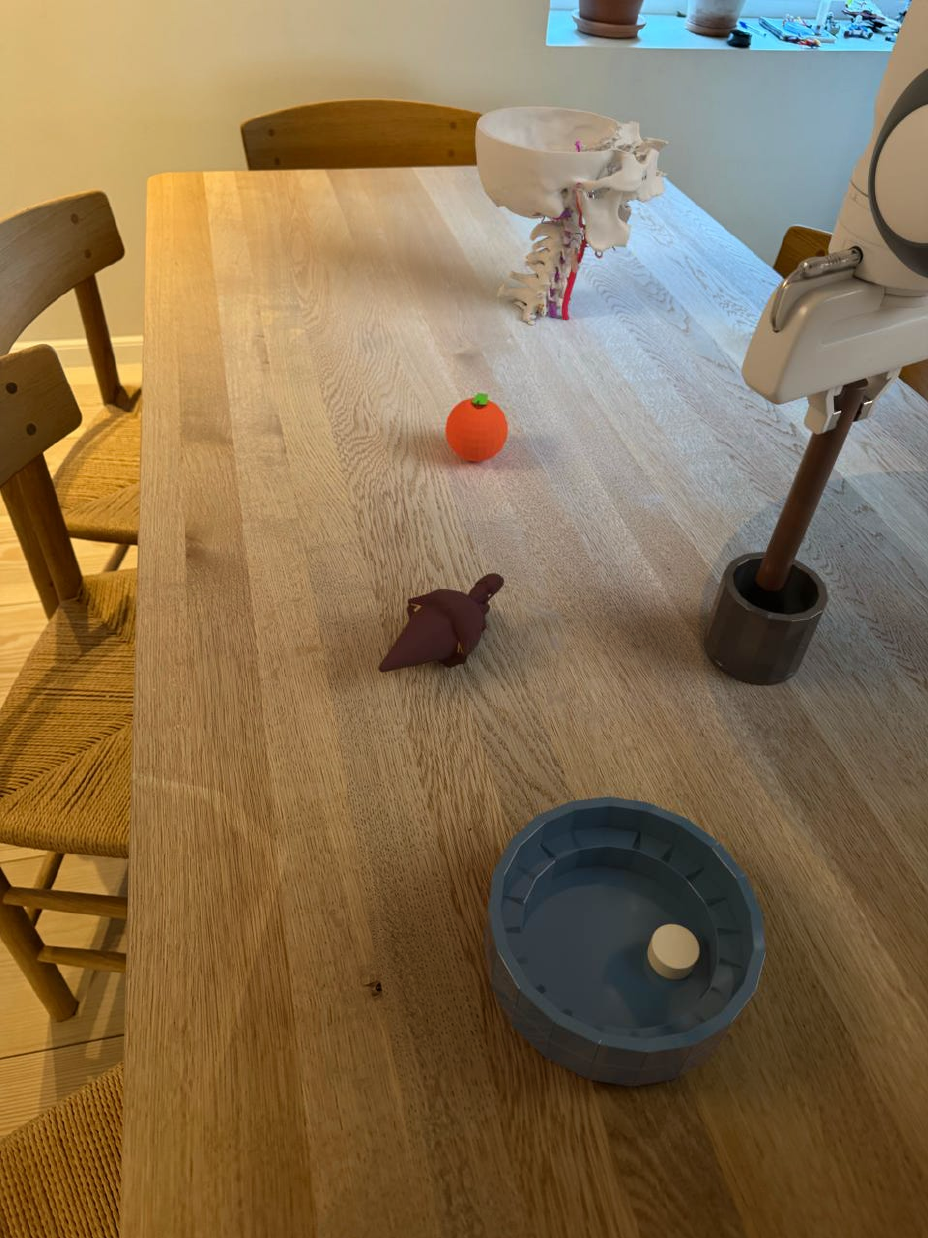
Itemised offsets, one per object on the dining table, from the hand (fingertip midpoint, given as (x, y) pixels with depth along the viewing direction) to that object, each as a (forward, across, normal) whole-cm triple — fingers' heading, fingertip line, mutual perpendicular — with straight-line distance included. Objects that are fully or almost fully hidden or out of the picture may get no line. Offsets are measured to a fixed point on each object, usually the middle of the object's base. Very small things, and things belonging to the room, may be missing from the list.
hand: (836, 422), depth 71 cm
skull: (+24, +22, +66) cm, 74 cm away
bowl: (+24, -29, -18) cm, 42 cm away
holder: (+24, 0, 0) cm, 24 cm away
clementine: (+24, -7, +38) cm, 46 cm away
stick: (+16, 0, +1) cm, 16 cm away
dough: (+23, -26, -20) cm, 40 cm away
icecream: (+24, -26, +12) cm, 38 cm away
